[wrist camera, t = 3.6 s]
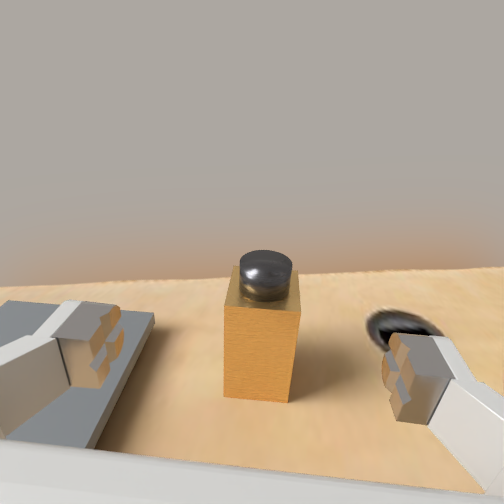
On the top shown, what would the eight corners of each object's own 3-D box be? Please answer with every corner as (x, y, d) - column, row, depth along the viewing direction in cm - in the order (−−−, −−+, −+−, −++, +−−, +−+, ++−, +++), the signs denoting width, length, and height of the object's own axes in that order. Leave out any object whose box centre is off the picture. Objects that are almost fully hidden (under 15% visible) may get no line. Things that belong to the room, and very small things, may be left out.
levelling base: (155, 330, 33) (153, 310, 31) (62, 531, 19) (51, 508, 17) (14, 318, 33) (6, 297, 32) (-179, 503, 19) (-206, 479, 18)
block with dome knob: (286, 354, 31) (300, 248, 25) (287, 403, 26) (304, 286, 21) (231, 349, 31) (234, 243, 26) (223, 396, 27) (224, 280, 21)
